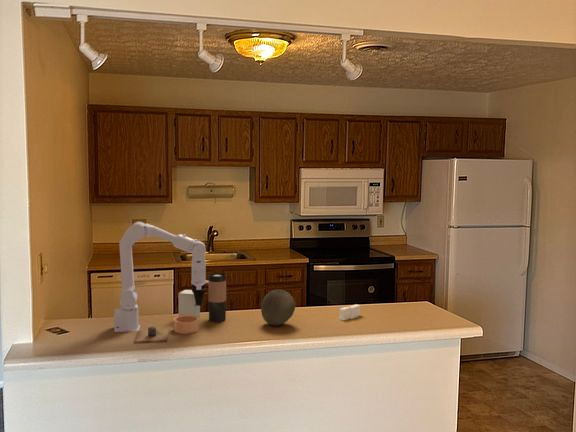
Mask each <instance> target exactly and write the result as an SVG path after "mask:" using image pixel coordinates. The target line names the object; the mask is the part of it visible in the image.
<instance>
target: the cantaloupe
mask: <svg viewBox="0 0 576 432" xmlns="http://www.w3.org/2000/svg"><path fill="white" fill-rule="evenodd" d="M295 309H296V302H295V299H294V297H293V296H292V295H291V294H290V293H289V292H288V291H286V290H284V289H273V290H271V291H268V293H266V295H265V296H264V297H263V300H262V302H261V305H260V312H261V316H262V318H263V320H264V321H265V322H266V323H267V324H268V325H270V326H274V327H276V326H281V325H283V324H286V323H287V322H288V321H289V320H290V319H291V318H292V316H293V315H294V313H295Z"/></svg>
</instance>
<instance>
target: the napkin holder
mask: <svg viewBox="0 0 576 432" xmlns="http://www.w3.org/2000/svg"><path fill="white" fill-rule="evenodd" d="M338 315H339V316H338V318H339V321H346V320H349V319H350V320H352V319H355V318H358V317H360V316H361V305H360V304H357V303H355V304H353V305H349V306H344V307H340V308H339V313H338Z"/></svg>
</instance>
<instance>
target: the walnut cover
mask: <svg viewBox="0 0 576 432" xmlns="http://www.w3.org/2000/svg"><path fill="white" fill-rule="evenodd" d="M169 332H170V330H169V329H163V330H162V329H161V330H160V329H159V330H157V327H156V326H149V327H147V330H139V331H136V333H137V335H136V334H135V336H136V338H135V337H134V339H135V341H134V340H133V342H135V343H142V344H152V343H151V342H164V343H168V342H167V340H168V334H169Z"/></svg>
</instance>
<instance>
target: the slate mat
mask: <svg viewBox="0 0 576 432" xmlns="http://www.w3.org/2000/svg"><path fill="white" fill-rule="evenodd" d="M170 334H171V331H169V334H168V340H167V342H166V343H169V340H170ZM136 335H137V332H136V334H135V335H134V339H133V342H132V345H135V344H138V345H139V344H143V343H135V342H134V341H135V338H136ZM160 343H162V344H163V343H165V342H151V343H150V344H160Z"/></svg>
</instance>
